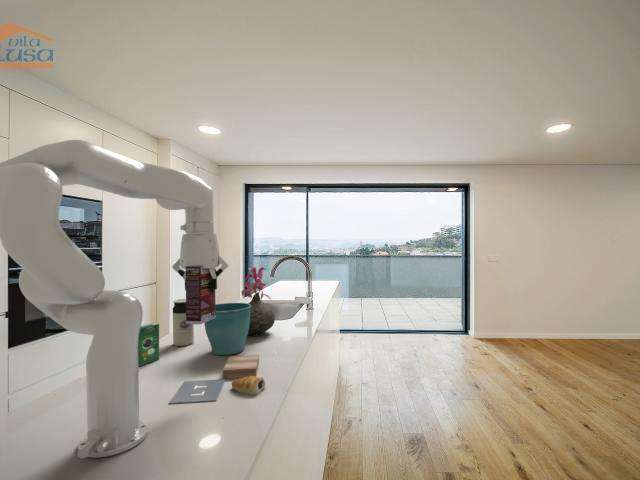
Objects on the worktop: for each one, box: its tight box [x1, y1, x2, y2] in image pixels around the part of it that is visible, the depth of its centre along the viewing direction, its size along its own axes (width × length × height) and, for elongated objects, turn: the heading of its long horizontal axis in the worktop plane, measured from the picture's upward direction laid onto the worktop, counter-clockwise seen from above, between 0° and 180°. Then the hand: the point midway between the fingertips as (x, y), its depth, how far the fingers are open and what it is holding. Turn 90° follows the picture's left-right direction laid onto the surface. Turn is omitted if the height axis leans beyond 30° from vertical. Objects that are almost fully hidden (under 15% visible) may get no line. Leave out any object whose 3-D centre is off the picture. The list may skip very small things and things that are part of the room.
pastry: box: [231, 376, 266, 396], centre depth 100 cm, size 9×7×4 cm
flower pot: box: [203, 302, 251, 356], centre depth 135 cm, size 18×18×17 cm
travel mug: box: [172, 298, 195, 347], centre depth 146 cm, size 8×8×18 cm
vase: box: [240, 266, 276, 336], centre depth 159 cm, size 17×17×30 cm
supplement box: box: [185, 266, 216, 325], centre depth 100 cm, size 9×5×16 cm, turn 169°
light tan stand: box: [222, 354, 260, 379], centre depth 114 cm, size 13×10×2 cm
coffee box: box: [138, 322, 160, 367], centre depth 123 cm, size 8×3×13 cm, turn 156°
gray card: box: [168, 378, 226, 405], centre depth 99 cm, size 14×12×1 cm
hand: (201, 292), depth 100 cm, fingers closed on supplement box, 5 cm apart
